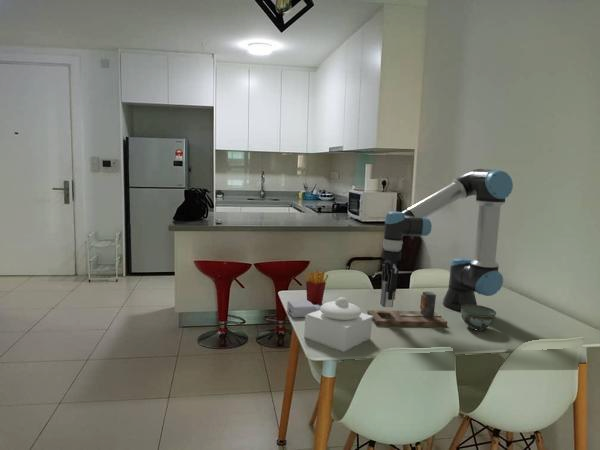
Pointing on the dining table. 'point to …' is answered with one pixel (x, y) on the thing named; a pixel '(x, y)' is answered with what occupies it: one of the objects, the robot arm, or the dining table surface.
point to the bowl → (477, 316)
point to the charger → (301, 308)
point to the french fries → (315, 287)
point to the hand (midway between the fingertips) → (386, 304)
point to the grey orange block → (383, 293)
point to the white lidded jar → (338, 325)
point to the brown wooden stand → (411, 315)
